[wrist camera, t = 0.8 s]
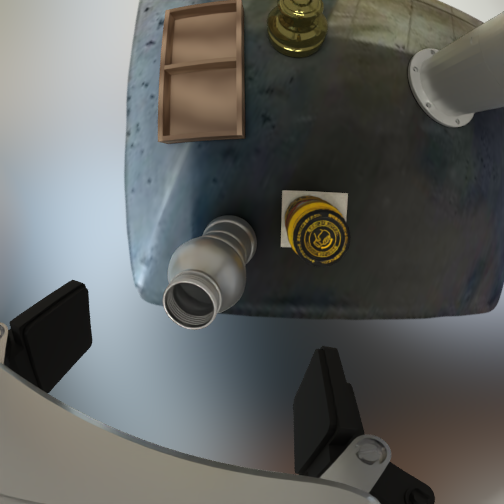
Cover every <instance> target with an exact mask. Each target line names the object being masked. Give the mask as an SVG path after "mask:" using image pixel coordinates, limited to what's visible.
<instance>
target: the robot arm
mask: <svg viewBox="0 0 504 504" xmlns="http://www.w3.org/2000/svg"><path fill="white" fill-rule="evenodd" d="M408 79H409V84H410V87H411V90H412V93H413V95H414V97H415V99H416V100H417V102H418V104H419V105H420V106H421V108H422V109H423V110H424V112H425V113H426V114H427V115H428V116H429V117H431V118H432V119H433V120H435V121H436V122H438V123H440V124H441V125H444V126H447V127H461V126H464V125H466V124H467V123H468V122H470V120H471V119H472V118H473V115H474V113H475V112H480V111H485V110H490V109H495V108H500V107H504V11H503V12H502V13H500V14H499V15H497V16H495V17H494V18H492V19H490V20H489V21H487V22H486V23H484V24H482V25H481V26H479V27H477V28H476V29H474V30H472V31H470V32H469V33H467V34H466V35H464V36H462V37H461V38H459V39H457V40H456V41H454V42H453V43H451V44H449V45H448V46H446V47H445V48H443V49H442V50H438V49H433V48H426V49H423V50H420V51H419V52H417V53H416V54H415V55H414V56H413V57H412V58H411V60H410V62H409V66H408ZM10 326H11V329H10V330H8V328H7V326H6V325H5V324H3V323H0V504H434V502H435V497H434V493H433V491H432V489H431V488H430V487H429V486H428V485H426V484H425V483H423V482H421V481H420V480H418V479H416V478H415V477H413V476H411V475H410V474H408V473H406V472H405V471H403V470H402V469H400V468H399V467H397V466H395V465H394V464H392V463H391V462H389V461H390V459H391V450H390V448H389V446H388V445H387V443H386V442H385V441H384V440H382V439H381V438H379V437H376V436H374V435H365V434H364V430H363V426H362V422H361V418H360V414H359V410H358V407H357V403H356V399H355V396H354V392H353V388H352V386H351V384H350V383H347V382H346V379H345V375H344V372H343V368H342V365H341V361H340V357H339V353H338V350H337V349H336V348H331V347H325V346H322V347H321V349H316V350H315V352H314V354H313V357H312V359H311V362H310V364H309V366H308V369H307V371H306V373H305V376H304V378H303V381H302V383H301V385H300V387H299V389H298V391H297V394H296V396H295V399H294V404H293V410H294V454H295V455H294V456H295V473H297V474H299V475H294V474H287V473H279V472H272V471H264V470H258V469H252V468H246V467H240V466H236V465H231V464H226V463H221V462H216V461H212V460H208V459H204V458H200V457H196V456H192V455H189V454H185V453H181V452H178V451H175V450H172V449H169V448H165V447H162V446H159V445H157V444H154V443H151V442H148V441H145V440H142V439H140V438H137V437H135V436H132V435H129V434H127V433H124V432H122V431H120V430H117V429H115V428H113V427H110V426H108V425H106V424H104V423H102V422H99V421H97V420H95V419H93V418H91V417H89V416H87V415H85V414H83V413H81V412H79V411H77V410H75V409H74V408H72V407H70V406H68V405H66V404H64V403H62V402H61V401H59V400H57V399H56V398H54V397H52V396H51V395H49V394H47V393H49V392H50V391H51V390H52V389H53V387H54V386H55V385H56V384H57V383H58V382H59V381H60V380H61V378H62V377H63V376H64V375H65V374H66V373H67V372H68V371H69V370H70V369H71V367H72V366H73V365H74V364H75V363H76V362H77V361H78V360H79V359H80V358H81V356H83V354H84V353H85V352H86V351H87V350H88V349H89V348H90V347H91V344H92V334H91V324H90V313H89V297H88V290H87V288H86V286H85V284H83V283H81V282H78V281H75V280H72V281H70V282H68V283H66V284H65V285H63V286H62V287H60V288H59V289H57V290H56V291H54V292H52V293H51V294H49V295H48V296H46V297H45V298H43V299H42V300H40V301H39V302H37V303H36V304H34V305H33V306H32V307H30V308H29V309H27V310H26V311H24V312H23V313H21V314H20V315H19V316H17V317H16V318H14V319H13V320H12V321H10Z"/></svg>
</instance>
